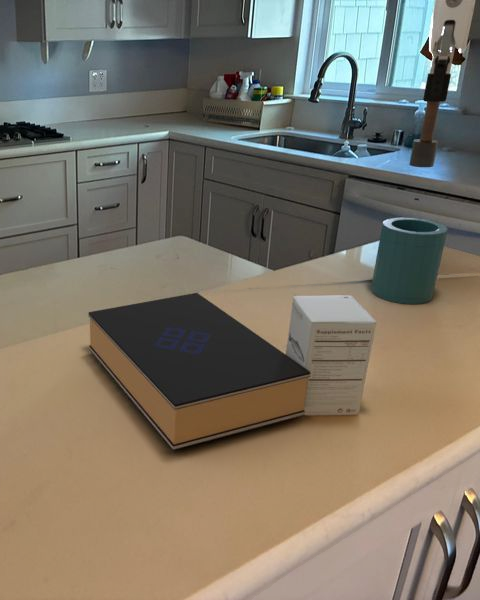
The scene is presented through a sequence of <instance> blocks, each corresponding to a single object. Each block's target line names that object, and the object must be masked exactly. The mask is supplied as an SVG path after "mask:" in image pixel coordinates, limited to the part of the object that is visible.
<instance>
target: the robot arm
mask: <svg viewBox="0 0 480 600" xmlns="http://www.w3.org/2000/svg"><path fill="white" fill-rule="evenodd" d="M475 4H476V0H434V3H433V9H432V14H431V22H430V30H429V42H428V43H429V46H428V47H429V48H428V50H429V52H430V53H431V54H432V60H431V63H430V64H431V65H430V70H429V73H427V77H426V82H425V87H424V93H423V99H422V100H423V102H425V103H427V102H440V103H444V102H446V101H447V97H448V92H449V88H450V83H451V78H452V74H451V70H452V65H453V60H454V56H455V55H454V54H455V50H456V49H458V52H459V54H463V53H465V52H466V51H467V45H468V39H469V34H470V31H471V30H470V29H471V24H472V20H473V16H474V10H475ZM434 68H435V70H434ZM433 73H434V75H433Z"/></svg>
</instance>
